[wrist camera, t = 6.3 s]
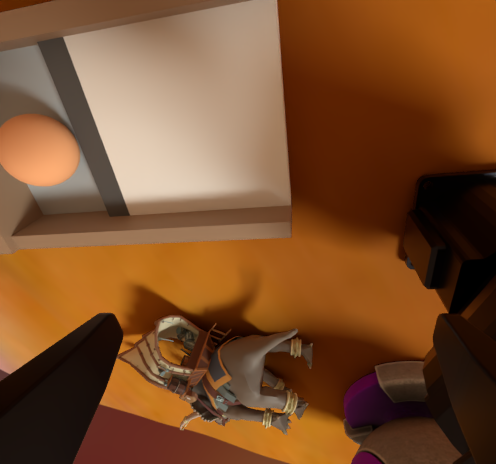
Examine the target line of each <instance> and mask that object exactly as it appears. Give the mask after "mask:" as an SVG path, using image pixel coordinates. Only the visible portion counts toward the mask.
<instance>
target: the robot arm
mask: <svg viewBox="0 0 496 464" xmlns="http://www.w3.org/2000/svg"><path fill="white" fill-rule="evenodd" d="M428 181H430V182H431V183H430V185H429V186H427V187H423V186H424V184H425V183H426V182H428ZM403 248H404V250H405V251H406V256H405V263H406V265H407V267H408V268H410V269H415V270H416V272H417V274H418V276H419V278H420V280H421V282H422V284H423V285H424V286H425V287H426V288H427V289H435V290H436V292H437V294H438V295H439V297H440V299H441V301H442V302H443V304H444V306H445V308H446V309H447V311H448V313H442V314H439V316H438V318H437V321H436V325H435V329H434V334H433V348H432V349H431V350H430V351H429V352H428V354H427V355H426V356H425V361H424V365H423V375H424V380H425V385H426V390H427V393H428V394H427V395H426V396H425V398H424V399H425V403H426V404H427V406H428V408H429V410H430V412H431V414H432V416H433V418H434V420H435V421H436V423H437V424H438V426H439V427H440V429H441V430H442V431H443V433H444V434H445V436H446V437H447V438H448V440H449V441H450V443H451V444H452V445H453V446H454V447H455V448H456V449H457V450H458V451H459V453H460V454H461V455H462V456H461V457H459V458H458V459H457V460H455V461H454V462H453V464H496V170H482V171H469V172H456V173H443V174H430V175H424V176H422V177H420V178H419V179H418V181H417V183H416V189H415V196H414V203H413V209H411V210H410V211H409V212H408V213H407V219H406V226H405V233H404V240H403ZM122 340H123V330H122V328H121V326H120V324H119V322H118V320H117V318H116V316H115V315H114V314H113V313H99V314H97V315H96V316H94V317H93V318H91V319H90V320H89V321H87V322H86V323H84V324H83V325H81V326H80V327H78V328H77V329H75V330H74V331H73V332H71V333H70V334H68V335H67V336H65V337H64V338H62V339H61V340H59V341H58V342H57V343H55V344H54V345H52V346H51V347H49V348H48V349H46V350H45V351H43V352H42V353H41V354H39V355H38V356H36V357H35V358H33V359H32V360H30V361H29V362H28V363H26V364H25V365H23V366H22V367H20V368H19V369H17V370H16V371H14V372H13V373H12V374H10V375H9V376H7V377H6V378H4V379H3V380H1V381H0V464H73V462H74V459H75V457H76V455H77V453H78V450H79V448H80V446H81V444H82V441H83V439H84V437H85V435H86V432H87V430H88V428H89V425H90V423H91V421H92V419H93V417H94V414H95V412H96V410H97V408H98V405H99V403H100V401H101V399H102V396H103V394H104V392H105V389H106V387H107V384H108V381H109V378H110V376H111V373H112V370H113V367H114V364H115V361H116V358H117V355H118V352H119V349H120V346H121V343H122Z"/></svg>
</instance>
